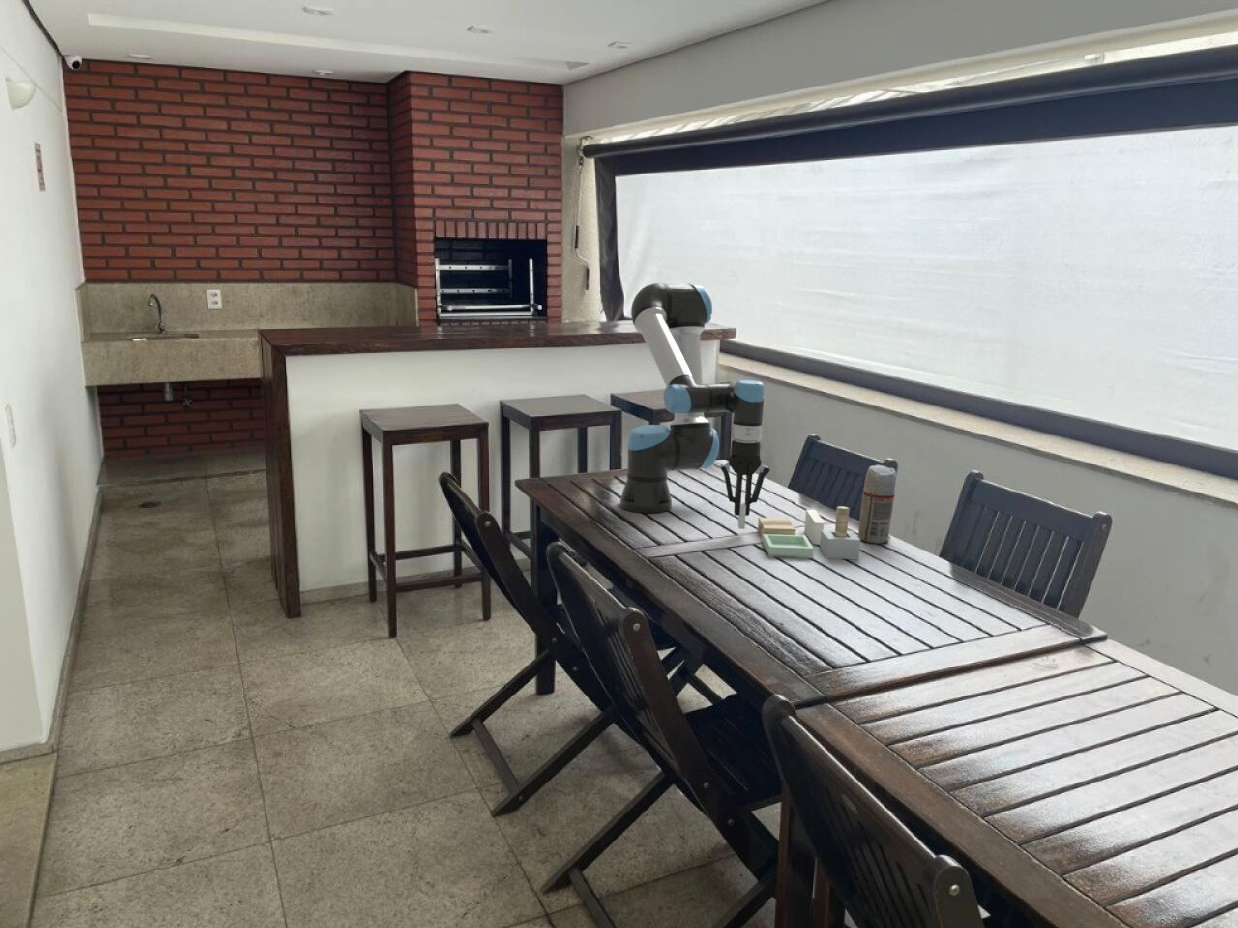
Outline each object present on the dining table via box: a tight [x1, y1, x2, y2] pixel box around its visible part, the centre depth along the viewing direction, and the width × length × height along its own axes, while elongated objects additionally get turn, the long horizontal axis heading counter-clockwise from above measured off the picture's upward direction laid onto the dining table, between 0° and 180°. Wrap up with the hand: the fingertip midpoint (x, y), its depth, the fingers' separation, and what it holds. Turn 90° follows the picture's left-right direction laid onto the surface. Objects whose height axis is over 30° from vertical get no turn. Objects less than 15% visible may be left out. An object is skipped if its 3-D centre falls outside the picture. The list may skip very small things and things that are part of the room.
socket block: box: [819, 529, 861, 560], centre depth 245 cm, size 8×8×5 cm
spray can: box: [857, 463, 898, 544], centre depth 256 cm, size 8×8×20 cm
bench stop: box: [804, 509, 825, 546], centre depth 257 cm, size 12×2×6 cm, turn 0°
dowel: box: [834, 506, 850, 537], centre depth 244 cm, size 3×3×12 cm
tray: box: [762, 534, 815, 559], centre depth 246 cm, size 11×11×2 cm
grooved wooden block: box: [757, 517, 796, 540], centre depth 257 cm, size 10×8×4 cm
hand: (740, 527), depth 257 cm, fingers closed
